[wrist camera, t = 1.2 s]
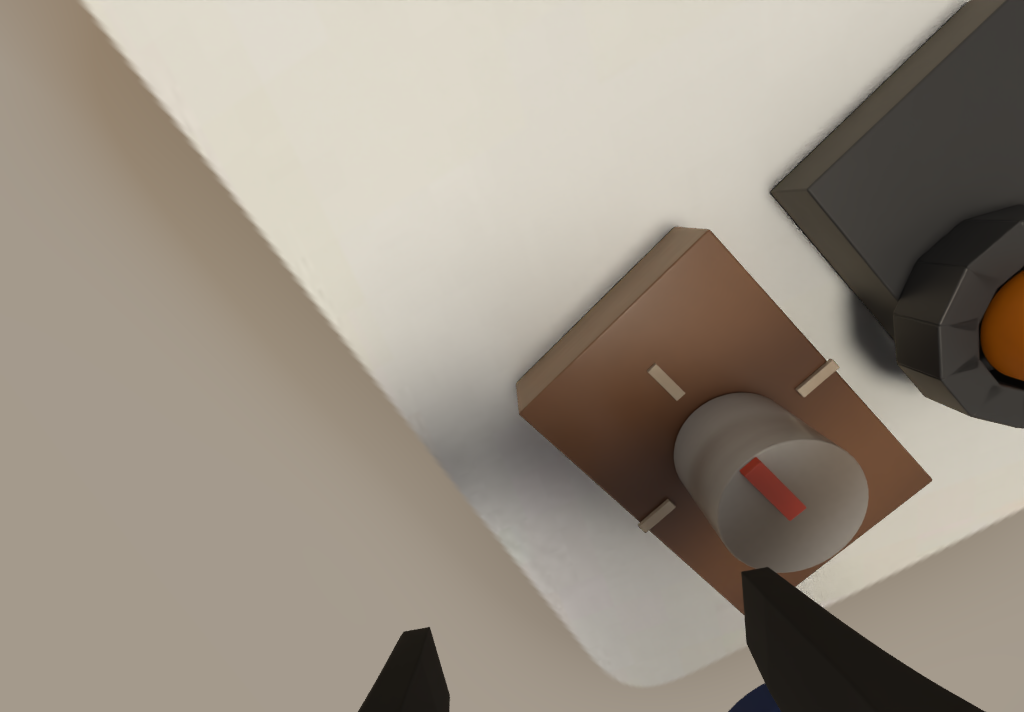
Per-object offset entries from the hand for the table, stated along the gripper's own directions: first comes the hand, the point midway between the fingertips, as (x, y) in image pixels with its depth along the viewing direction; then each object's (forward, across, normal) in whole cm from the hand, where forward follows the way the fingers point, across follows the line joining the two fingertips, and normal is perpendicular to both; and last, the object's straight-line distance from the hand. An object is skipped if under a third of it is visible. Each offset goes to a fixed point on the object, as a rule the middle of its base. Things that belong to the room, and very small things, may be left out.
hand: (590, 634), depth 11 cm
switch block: (+9, -16, -6) cm, 19 cm away
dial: (+6, -6, -1) cm, 8 cm away
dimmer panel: (+9, -6, -1) cm, 11 cm away
